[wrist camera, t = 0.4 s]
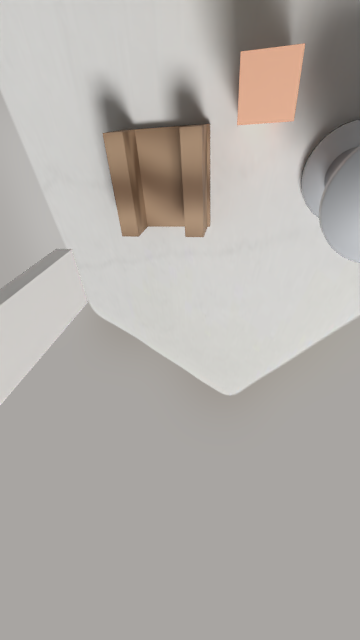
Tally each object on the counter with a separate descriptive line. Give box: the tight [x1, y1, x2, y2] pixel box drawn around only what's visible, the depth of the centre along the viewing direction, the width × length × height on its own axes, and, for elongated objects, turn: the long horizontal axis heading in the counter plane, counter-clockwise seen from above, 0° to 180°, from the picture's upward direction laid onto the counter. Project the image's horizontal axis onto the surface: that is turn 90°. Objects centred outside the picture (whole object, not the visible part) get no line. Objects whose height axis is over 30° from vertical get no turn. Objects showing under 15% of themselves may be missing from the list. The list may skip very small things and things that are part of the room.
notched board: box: [103, 124, 210, 237], centre depth 30 cm, size 10×10×4 cm
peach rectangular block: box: [237, 43, 305, 125], centre depth 22 cm, size 4×4×8 cm
